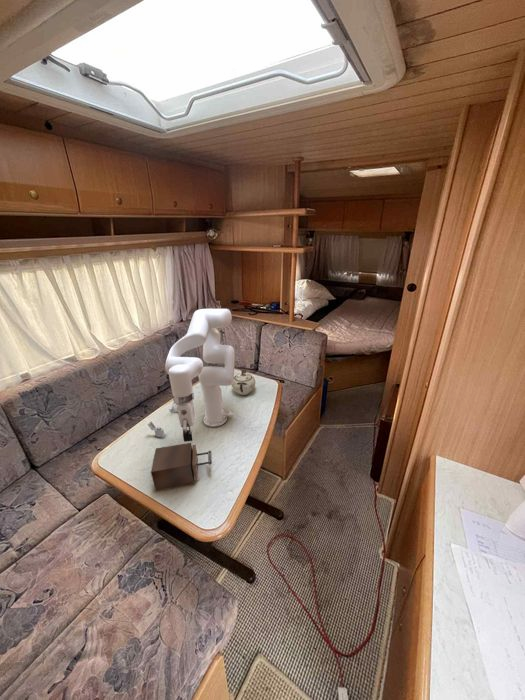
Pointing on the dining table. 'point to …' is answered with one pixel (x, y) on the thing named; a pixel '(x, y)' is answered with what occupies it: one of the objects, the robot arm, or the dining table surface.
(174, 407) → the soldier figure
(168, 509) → the dining table surface
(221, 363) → the robot arm
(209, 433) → the dining table surface
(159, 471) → the cabinet
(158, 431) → the lighter
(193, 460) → the drawer
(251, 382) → the sugar bowl
